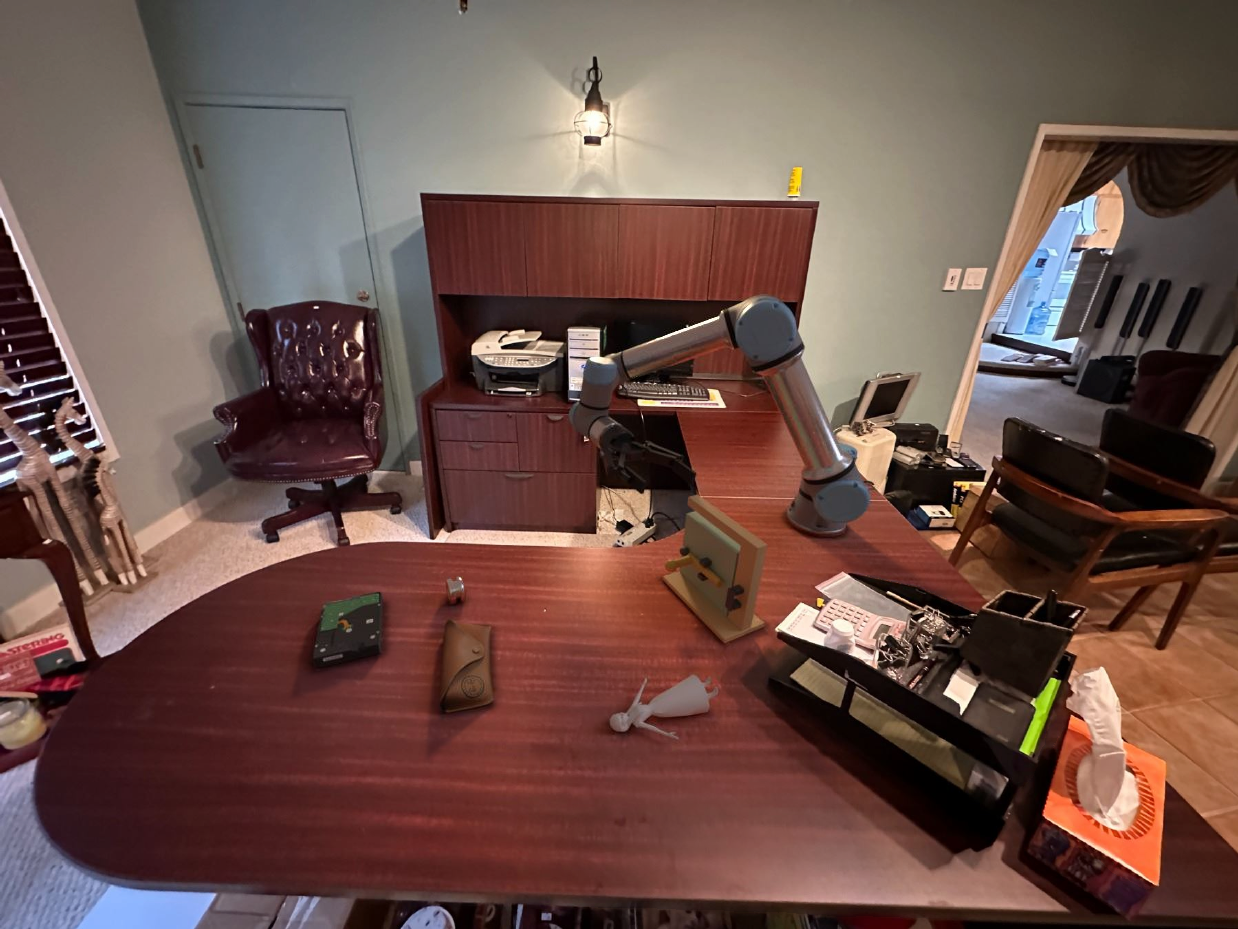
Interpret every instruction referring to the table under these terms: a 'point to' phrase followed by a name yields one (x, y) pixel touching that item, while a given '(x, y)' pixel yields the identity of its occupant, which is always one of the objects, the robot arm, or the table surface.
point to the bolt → (690, 558)
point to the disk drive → (349, 630)
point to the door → (720, 571)
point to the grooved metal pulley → (455, 589)
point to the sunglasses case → (465, 667)
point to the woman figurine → (667, 705)
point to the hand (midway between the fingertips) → (669, 483)
